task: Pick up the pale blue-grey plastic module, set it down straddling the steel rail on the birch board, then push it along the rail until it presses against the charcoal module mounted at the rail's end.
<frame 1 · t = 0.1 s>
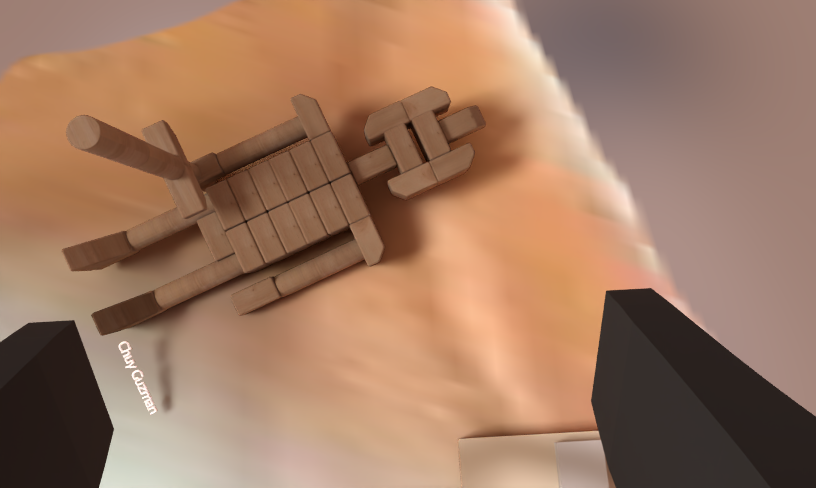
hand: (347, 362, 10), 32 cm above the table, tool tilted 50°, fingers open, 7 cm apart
wooden figure: (306, 233, 44), on the table
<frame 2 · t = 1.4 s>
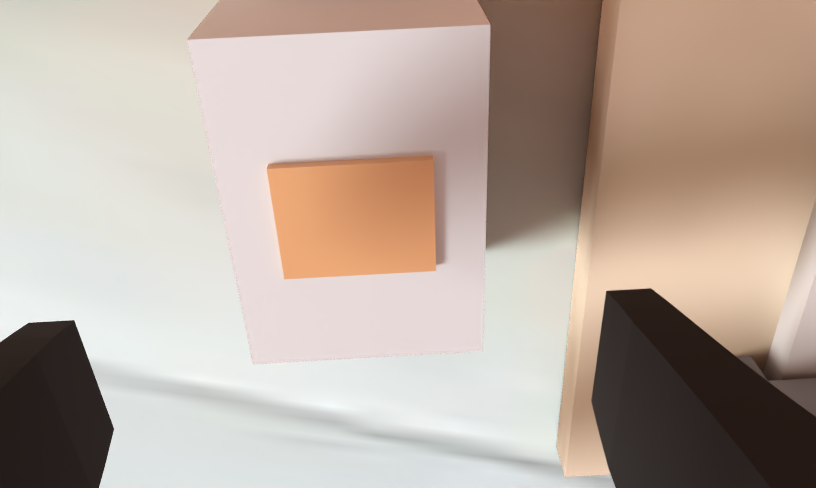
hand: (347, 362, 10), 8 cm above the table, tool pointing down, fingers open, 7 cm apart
module: (359, 135, 17), on the table
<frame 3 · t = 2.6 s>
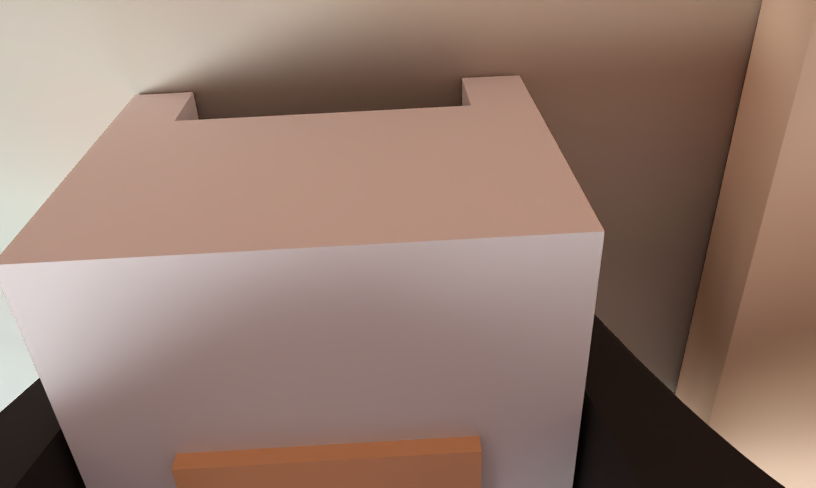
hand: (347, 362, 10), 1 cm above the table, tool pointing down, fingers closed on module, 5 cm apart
module: (350, 301, 11), on the table, touching gripper
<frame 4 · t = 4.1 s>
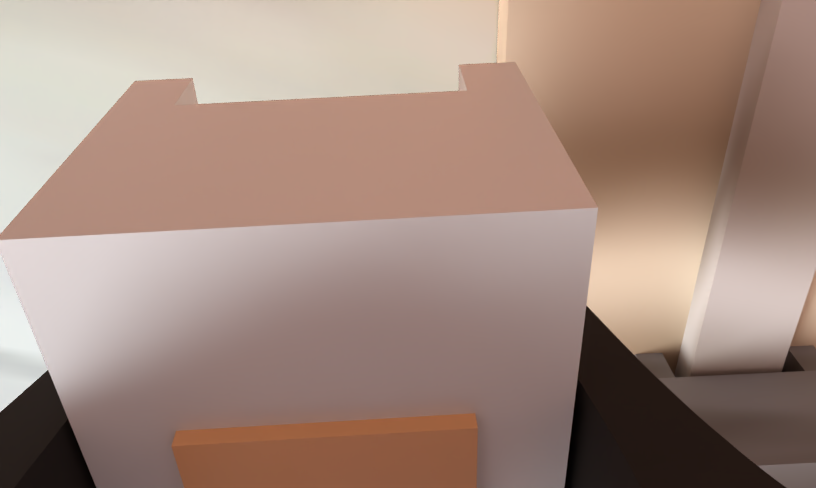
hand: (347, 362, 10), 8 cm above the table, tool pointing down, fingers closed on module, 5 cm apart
rail board: (745, 168, 18), on the table
module: (348, 288, 11), point 7 cm above the table, touching gripper
when the fingers open (4 cm above the table, at t = 6.1 s): module stays where it is, resting on rail board.
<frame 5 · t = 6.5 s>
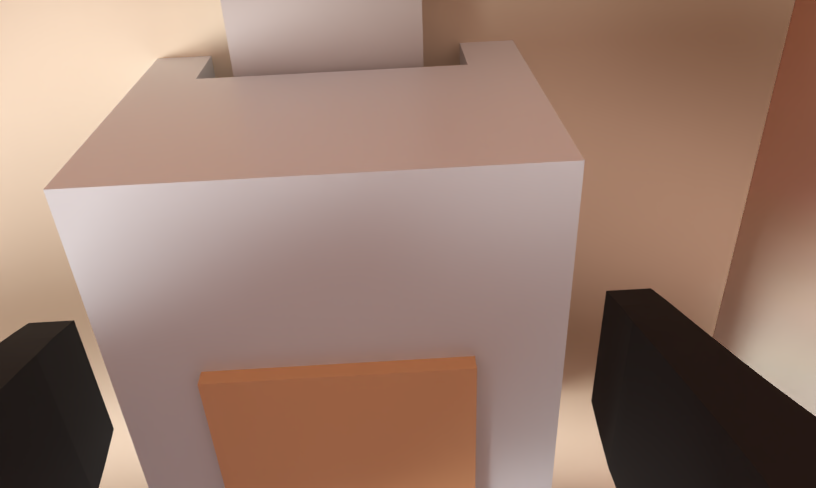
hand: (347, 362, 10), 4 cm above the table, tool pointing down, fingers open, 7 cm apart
rail board: (360, 296, 14), on the table
module: (355, 257, 12), point 1 cm above the table, touching rail board
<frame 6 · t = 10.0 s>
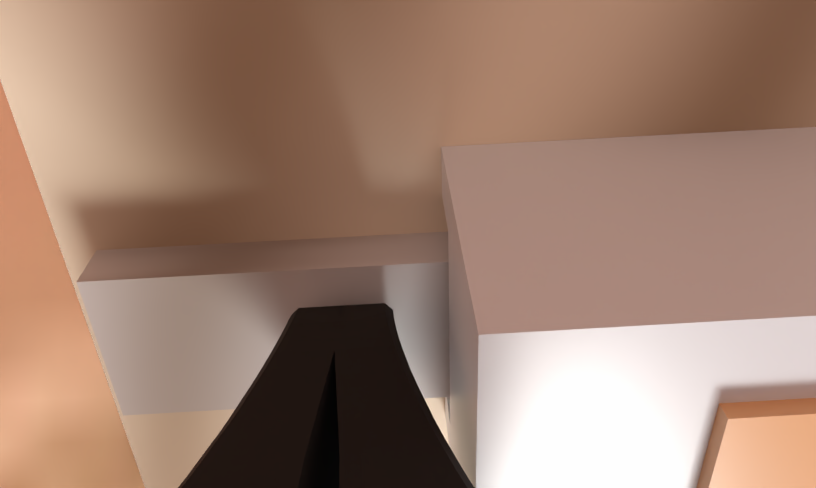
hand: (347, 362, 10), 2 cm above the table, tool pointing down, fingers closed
rail board: (671, 246, 12), on the table
module: (668, 283, 11), point 1 cm above the table, touching gripper
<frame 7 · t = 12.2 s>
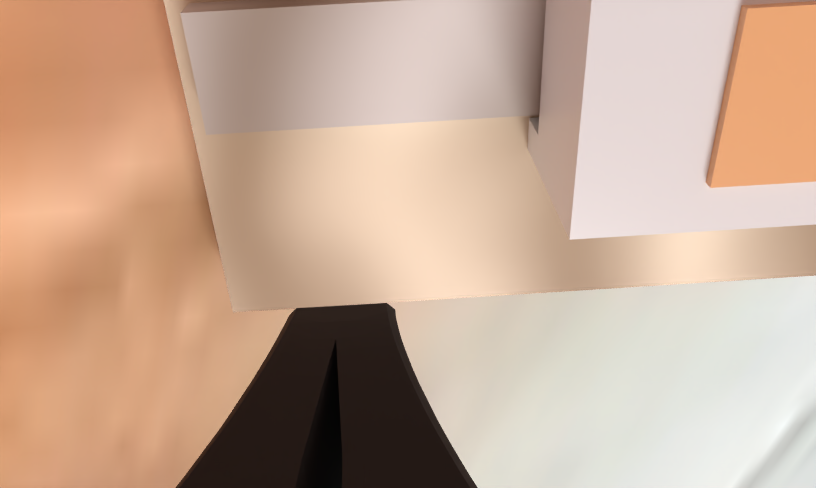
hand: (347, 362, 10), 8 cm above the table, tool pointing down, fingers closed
rail board: (611, 24, 16), on the table
module: (697, 30, 15), point 1 cm above the table, touching rail board
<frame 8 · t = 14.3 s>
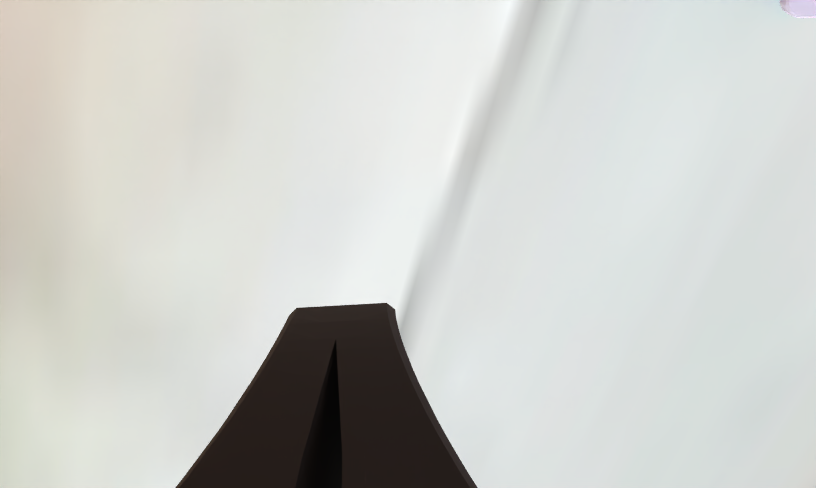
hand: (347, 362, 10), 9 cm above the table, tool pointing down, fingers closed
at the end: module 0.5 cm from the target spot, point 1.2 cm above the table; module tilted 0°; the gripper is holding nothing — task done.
